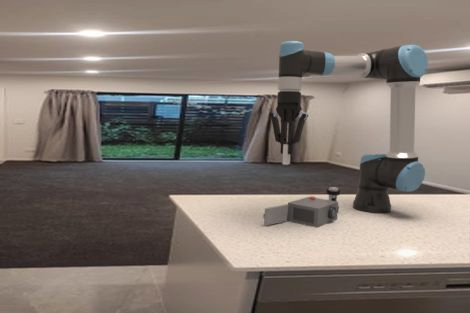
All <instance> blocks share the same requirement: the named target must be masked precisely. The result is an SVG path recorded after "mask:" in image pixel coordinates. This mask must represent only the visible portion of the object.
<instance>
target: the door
mask: <svg viewBox="0 0 470 313" xmlns="http://www.w3.org/2000/svg"><path fill="white" fill-rule="evenodd" d="M262 218H263V225H264V226H266V227H267V226H270V225H274V224H279V223H283V222H288V221H287V220H288V203H287V204H286V203H285V204H281V205H276V206H275V205H274V206H270V207H266V208H264V213H263V216H262Z"/></svg>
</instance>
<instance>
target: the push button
mask: <svg viewBox="0 0 470 313" xmlns="http://www.w3.org/2000/svg"><path fill="white" fill-rule="evenodd" d="M340 193H341V190H339V187H336V186H329V187H328V189H326V194H327V195H328V200H331V201H336V202H338V196H340ZM339 208H340V207H339V205H338V212H339Z"/></svg>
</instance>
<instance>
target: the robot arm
mask: <svg viewBox="0 0 470 313" xmlns="http://www.w3.org/2000/svg"><path fill="white" fill-rule="evenodd" d="M428 68H429V59H428V55H427V53H426V51H425V50H424V49H423V48H422V47H421V46H419V45H418V44H417V45H416V44H403V45H399V46H394V47H390V48H383V49H379V50H375V51H370V52H360V53H359V54H357V55H333V54H332V53H330V52H325V51H319V50H307V49H305V48H304V43H303V42H301V41H299V40H298V41H297V40H286V41H283V42H281V44H280V45H279V53H278V79H277V80H278V81H277V90H278V92H277V106H276V108H275V110H273V111H272V112H269V114H268V116H269V117H270V119H271V123H272V127H273V128H272V129H273V134H274V140H275V142H276V143H280V154H282V165H286V166H288V165H291V155H294V145H295V144H298V143H300V140H301V136H302V134H303V128H304V126H305V122H306V120H307V119H308V117H309V114H308V113H306V112H304V111H303V109H302V107H301V106H302V105H301V104H302V93H301V91H302V86H303V85H302V84H303V78H310V77H311V78H315V77H316V78H317V77H321V78H323V77H351V76H356V77H357V78H359V79H375V80H376V79H377V80H386V85H387V86H388V87H389V88H390V104H389V106H390V113H389V114H390V115H389V117H390V118H389V122H390V123H389V151H388V152H387V153H381V154H380V153H376V154H372V153H371V154H363V155H362V156H361V157H360V163H359V177H358V189H357V192H356V194H355V196H354V200H353V202H352V208H354V209H355V210H358V211H362V212H367V213H375V214H379V213H380V214H381V213H383V214H384V213H390V212H391V211H392V204H391V199H390V195H389V189H393V190H396V191H400V192H408V193H410V192H414V191H416V190H418V189H419V187H420V186H421V185H422V184H423V182H424V180H425V177H426V169H425V166H424V164H422V162H420V161H419V155H418V153H416V152H415V125H416V124H415V122H416V114H415V113H416V88H417V86H418V85H420V84H421V77H422V76H424V75H425V74H426V72H427V70H428ZM278 116H279V118H280V123H279V118H278ZM297 118H299V119H298V121H296V120H297ZM296 122H297V126H296ZM295 126H296V127H295ZM295 129H296V130H295Z"/></svg>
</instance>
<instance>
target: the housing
mask: <svg viewBox="0 0 470 313" xmlns="http://www.w3.org/2000/svg"><path fill="white" fill-rule="evenodd" d="M287 204H288V220H287V221H286V222H290V223H296V224H300V225H304V224H305V225H304V226H310V227H313V226H314V228H319V227H322V226H324V225H326V224H329V223H332V222H334V221H336V220H338V214H339V211H338V206H339V201H337V202H336V201H331V200H329V199H324V198H318V197H315V196H313V195H311V196H306V197H304V198H301V199H300V198H299V199H296V200H293V201H290V202H287Z"/></svg>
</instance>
